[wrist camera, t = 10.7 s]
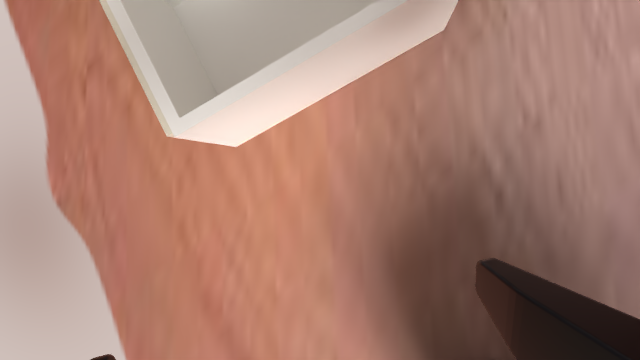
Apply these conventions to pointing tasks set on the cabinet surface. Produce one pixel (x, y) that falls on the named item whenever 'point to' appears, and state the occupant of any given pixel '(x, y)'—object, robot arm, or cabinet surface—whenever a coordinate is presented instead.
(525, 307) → the robot arm
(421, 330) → the cabinet surface
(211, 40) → the carton
